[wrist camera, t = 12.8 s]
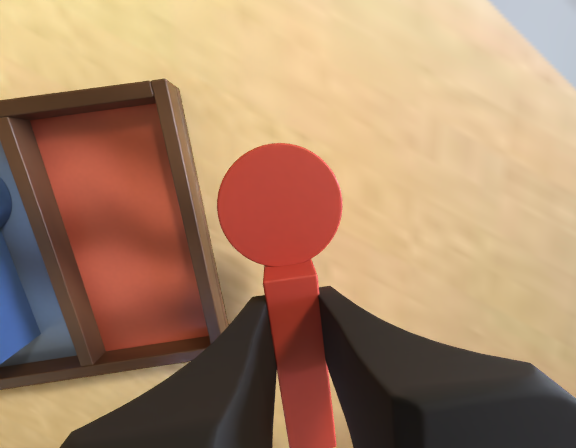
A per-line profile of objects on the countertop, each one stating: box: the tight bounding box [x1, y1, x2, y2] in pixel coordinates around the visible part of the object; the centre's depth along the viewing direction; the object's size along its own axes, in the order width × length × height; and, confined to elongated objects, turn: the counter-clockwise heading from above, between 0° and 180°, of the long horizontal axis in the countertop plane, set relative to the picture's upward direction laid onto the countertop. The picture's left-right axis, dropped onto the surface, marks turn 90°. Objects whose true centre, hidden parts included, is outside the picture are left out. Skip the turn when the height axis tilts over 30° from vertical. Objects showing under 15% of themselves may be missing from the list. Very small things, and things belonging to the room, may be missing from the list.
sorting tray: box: [0, 79, 228, 390], centre depth 17 cm, size 17×17×2 cm
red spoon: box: [217, 143, 342, 448], centre depth 11 cm, size 12×4×3 cm, turn 7°
